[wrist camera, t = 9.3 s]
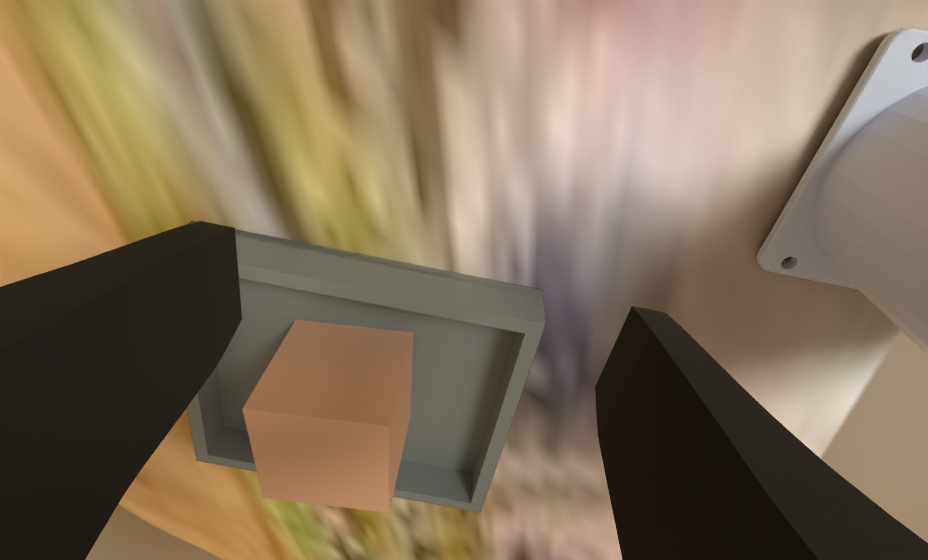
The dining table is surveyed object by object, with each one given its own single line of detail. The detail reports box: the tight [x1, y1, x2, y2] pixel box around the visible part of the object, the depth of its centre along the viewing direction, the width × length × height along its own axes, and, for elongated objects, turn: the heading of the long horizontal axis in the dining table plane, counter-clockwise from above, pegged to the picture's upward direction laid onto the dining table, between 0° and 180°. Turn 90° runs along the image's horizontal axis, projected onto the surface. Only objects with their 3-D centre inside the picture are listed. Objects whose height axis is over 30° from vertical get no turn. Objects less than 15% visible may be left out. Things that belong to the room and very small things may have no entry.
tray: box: [187, 221, 546, 513], centre depth 22 cm, size 14×12×2 cm
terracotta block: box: [243, 320, 413, 513], centre depth 20 cm, size 5×5×5 cm
